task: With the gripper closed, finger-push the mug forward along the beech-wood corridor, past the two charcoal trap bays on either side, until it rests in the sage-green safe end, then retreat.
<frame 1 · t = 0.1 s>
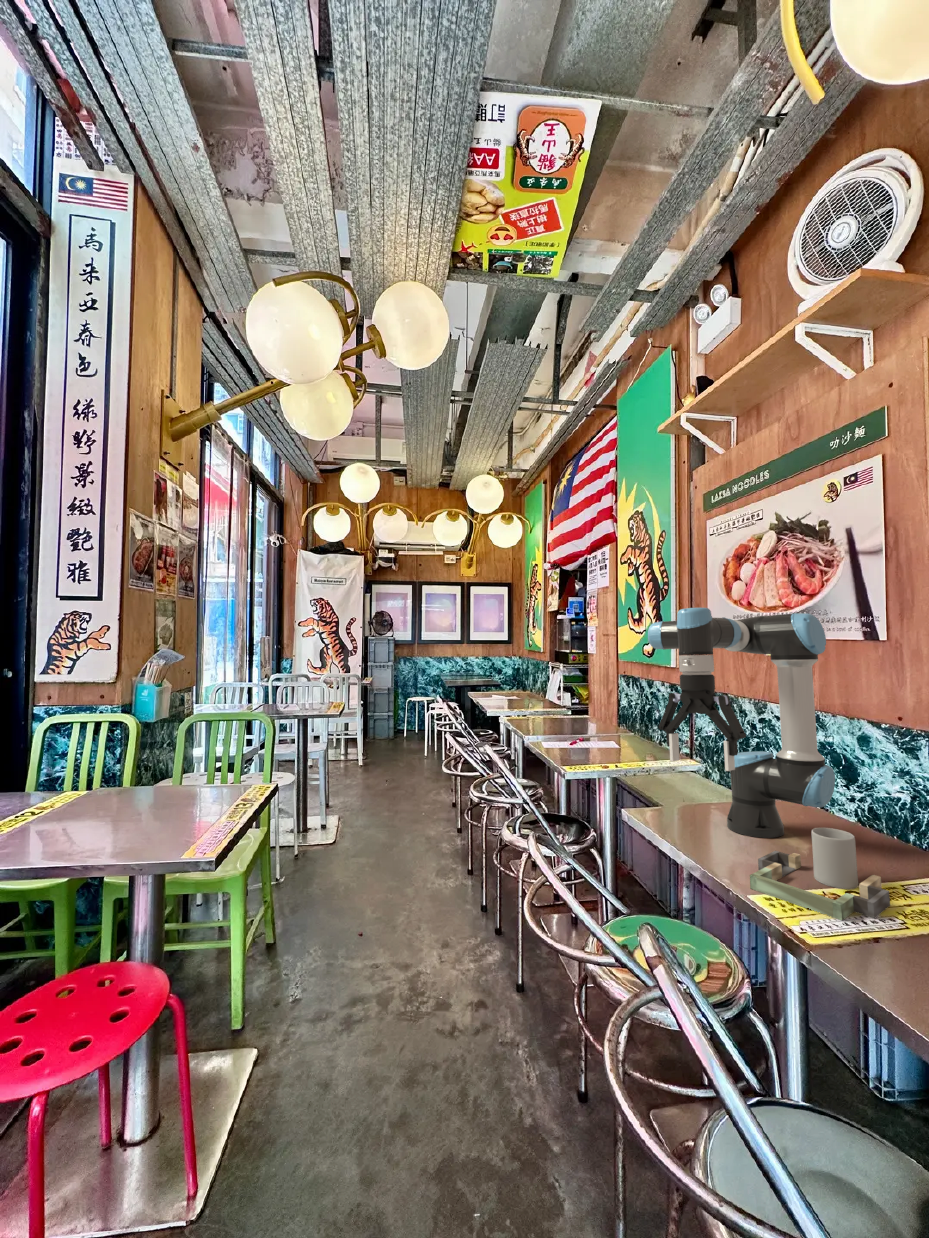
hand: (701, 765, 121), 28 cm above the table, fingers open, 13 cm apart
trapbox: (815, 889, 118), on the table
mug: (833, 879, 124), on the table
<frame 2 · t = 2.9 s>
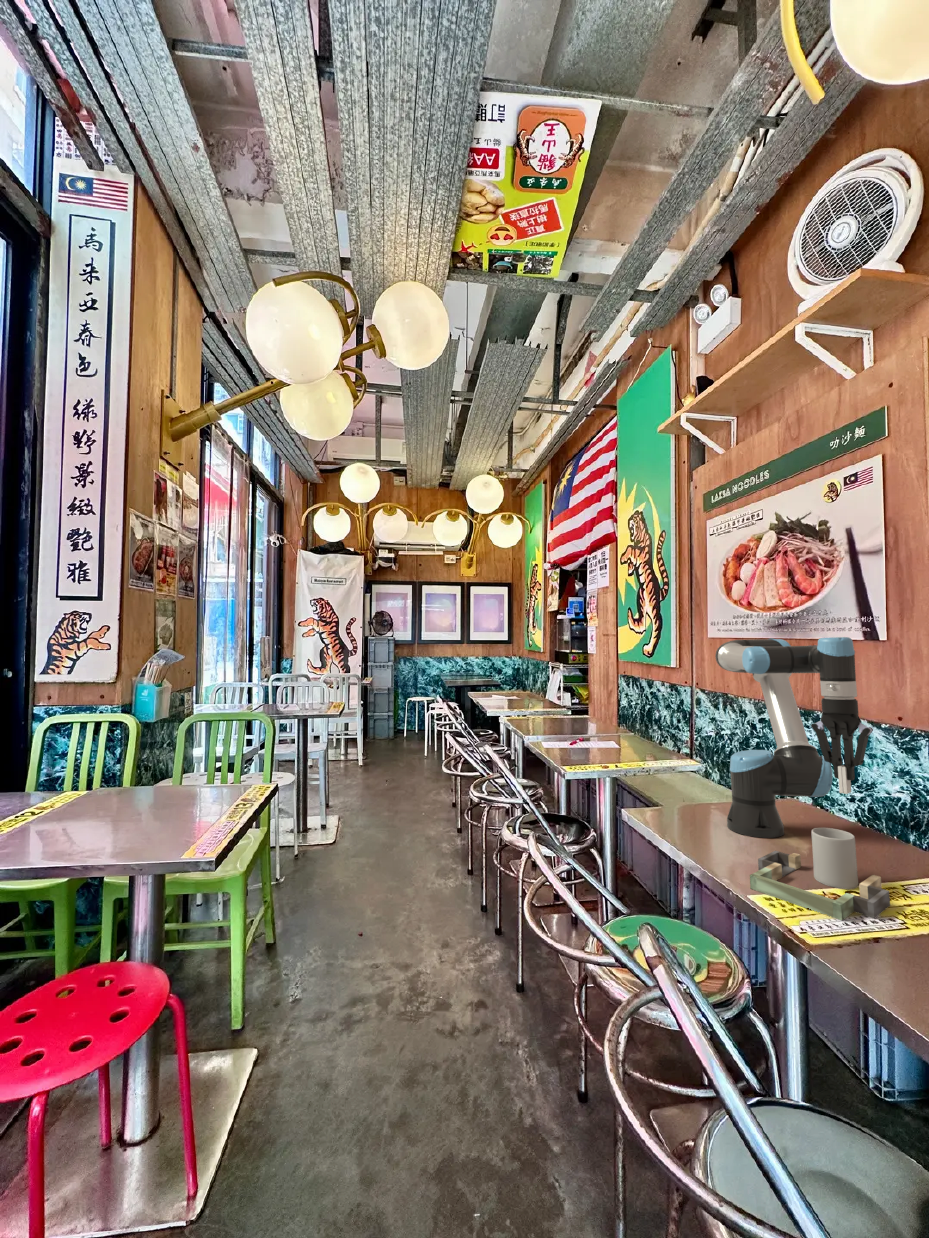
hand: (845, 792, 131), 18 cm above the table, fingers closed
nothing on the table moved.
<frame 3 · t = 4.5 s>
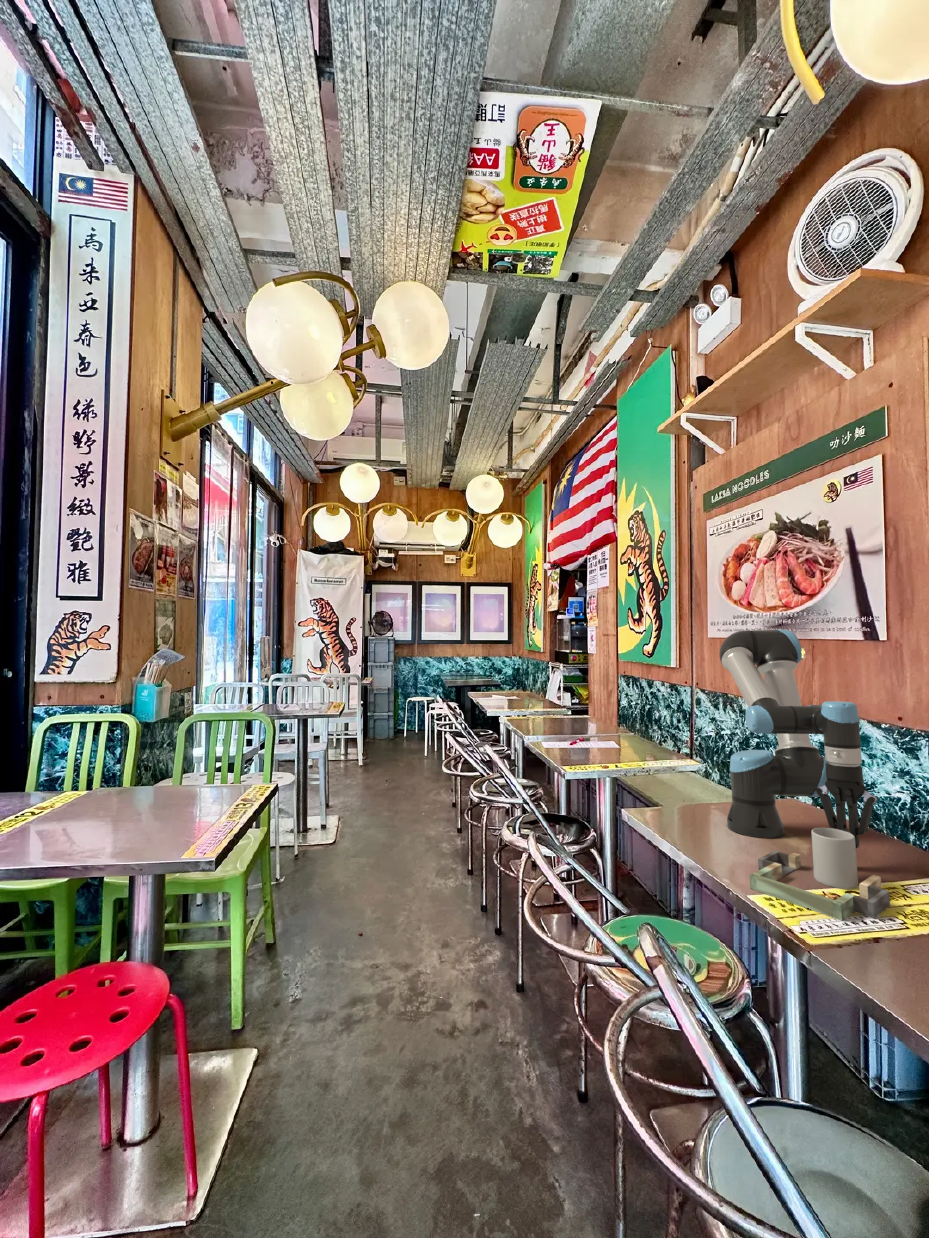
hand: (850, 859, 129), 2 cm above the table, fingers closed
nothing on the table moved.
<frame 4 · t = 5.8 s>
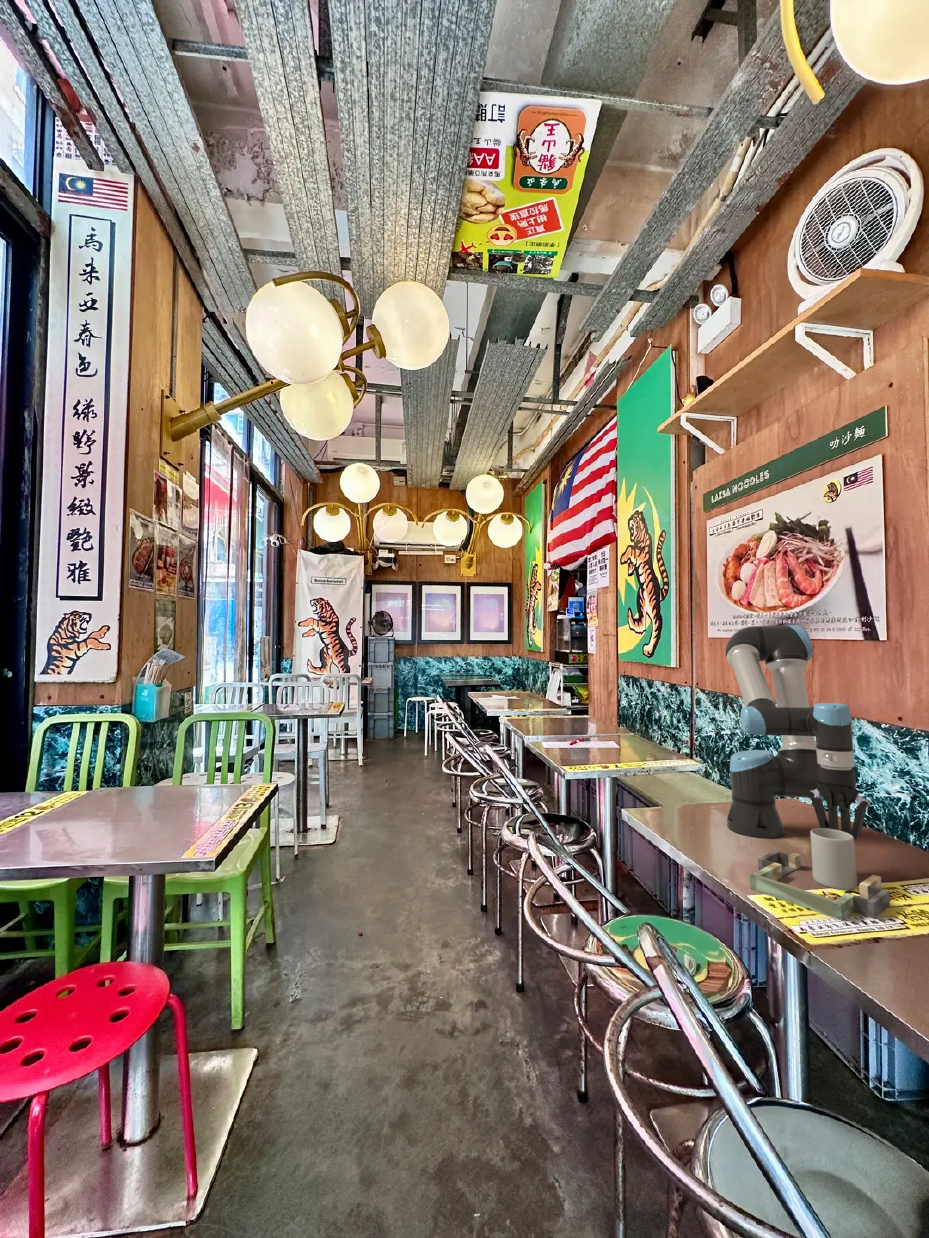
hand: (842, 865, 126), 2 cm above the table, fingers closed
mug: (832, 879, 123), on the table, touching gripper, hand
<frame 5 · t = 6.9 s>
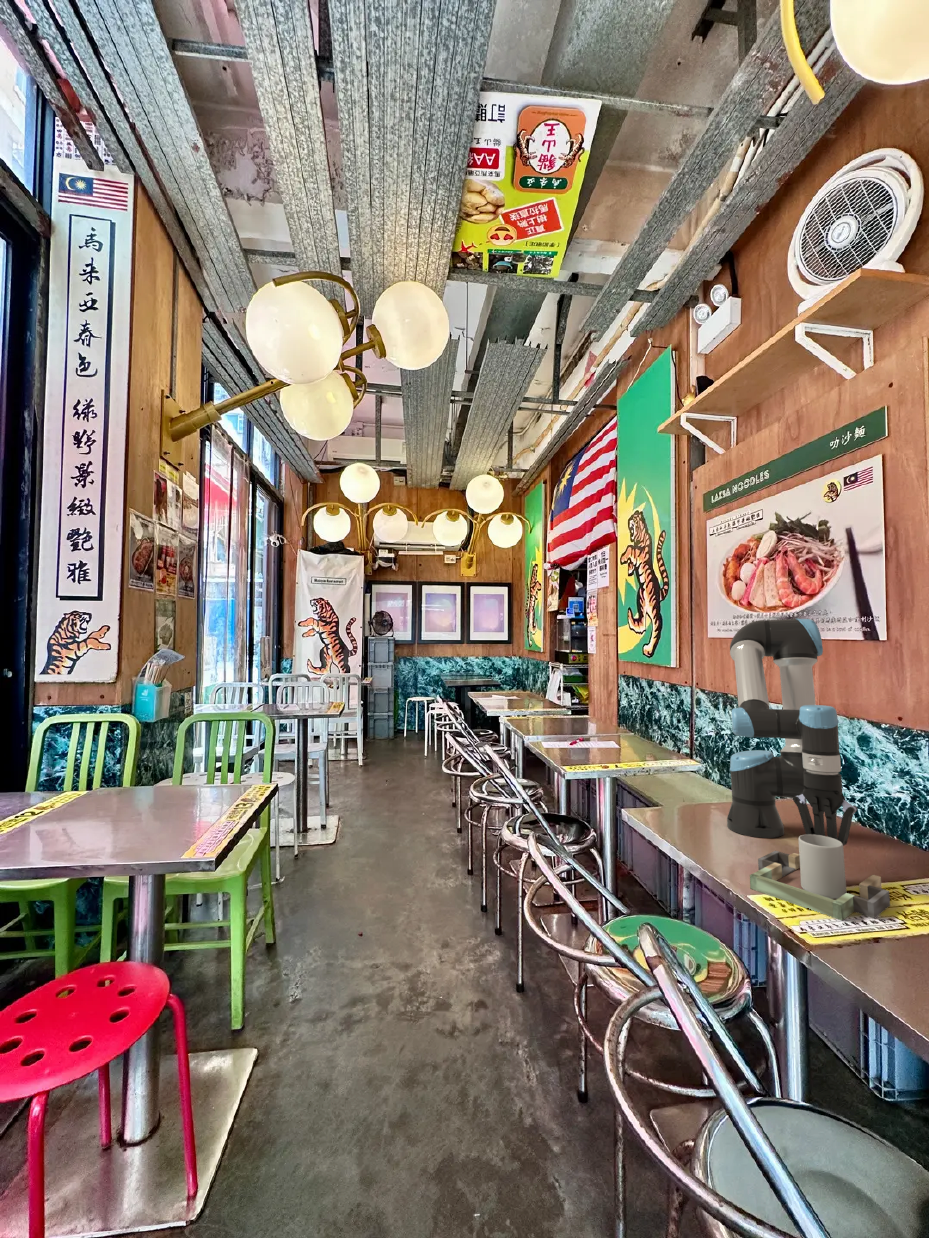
hand: (828, 873, 122), 2 cm above the table, fingers closed
mug: (818, 887, 119), on the table, touching gripper
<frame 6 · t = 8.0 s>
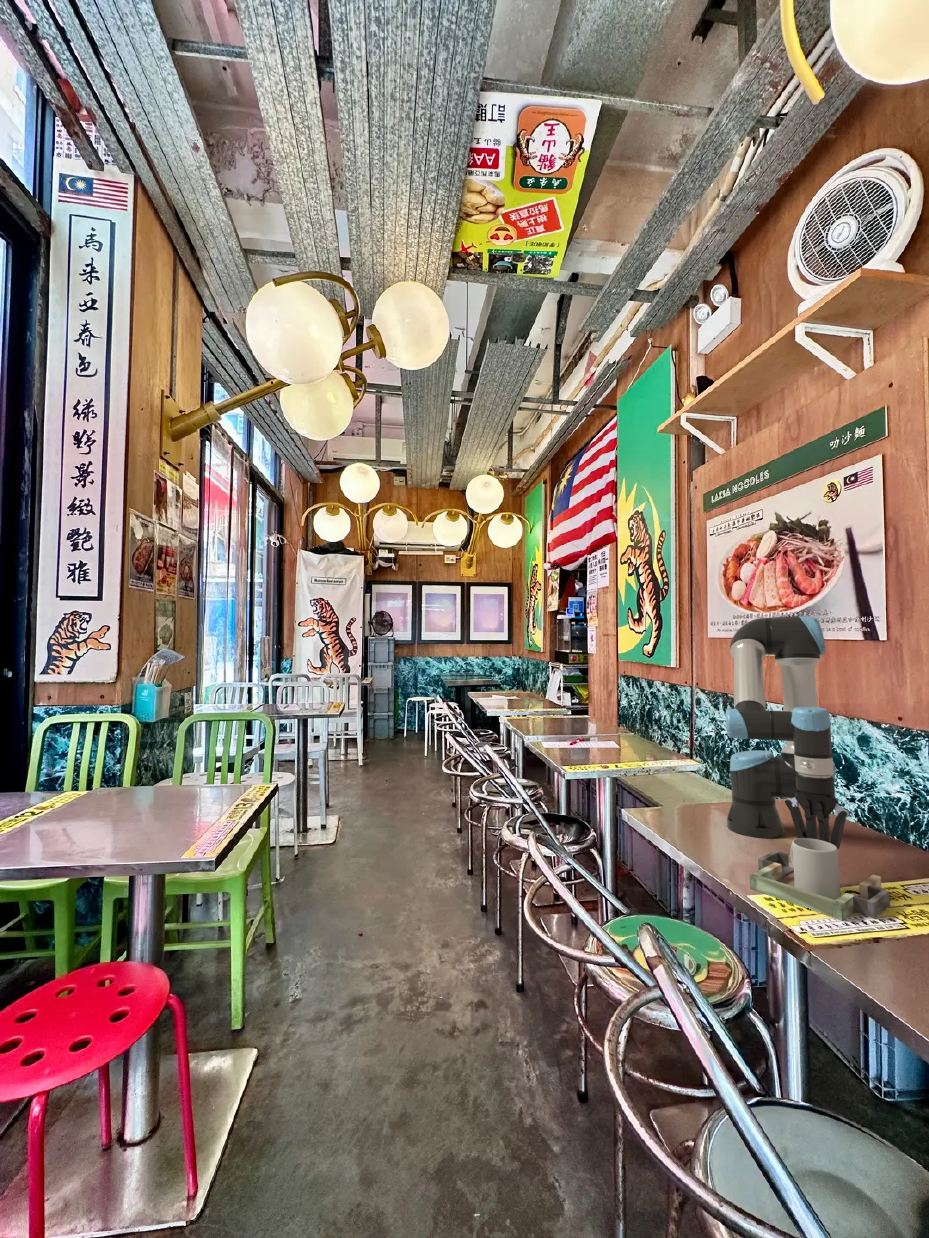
hand: (821, 878, 120), 2 cm above the table, fingers closed
mug: (812, 892, 117), on the table, touching gripper
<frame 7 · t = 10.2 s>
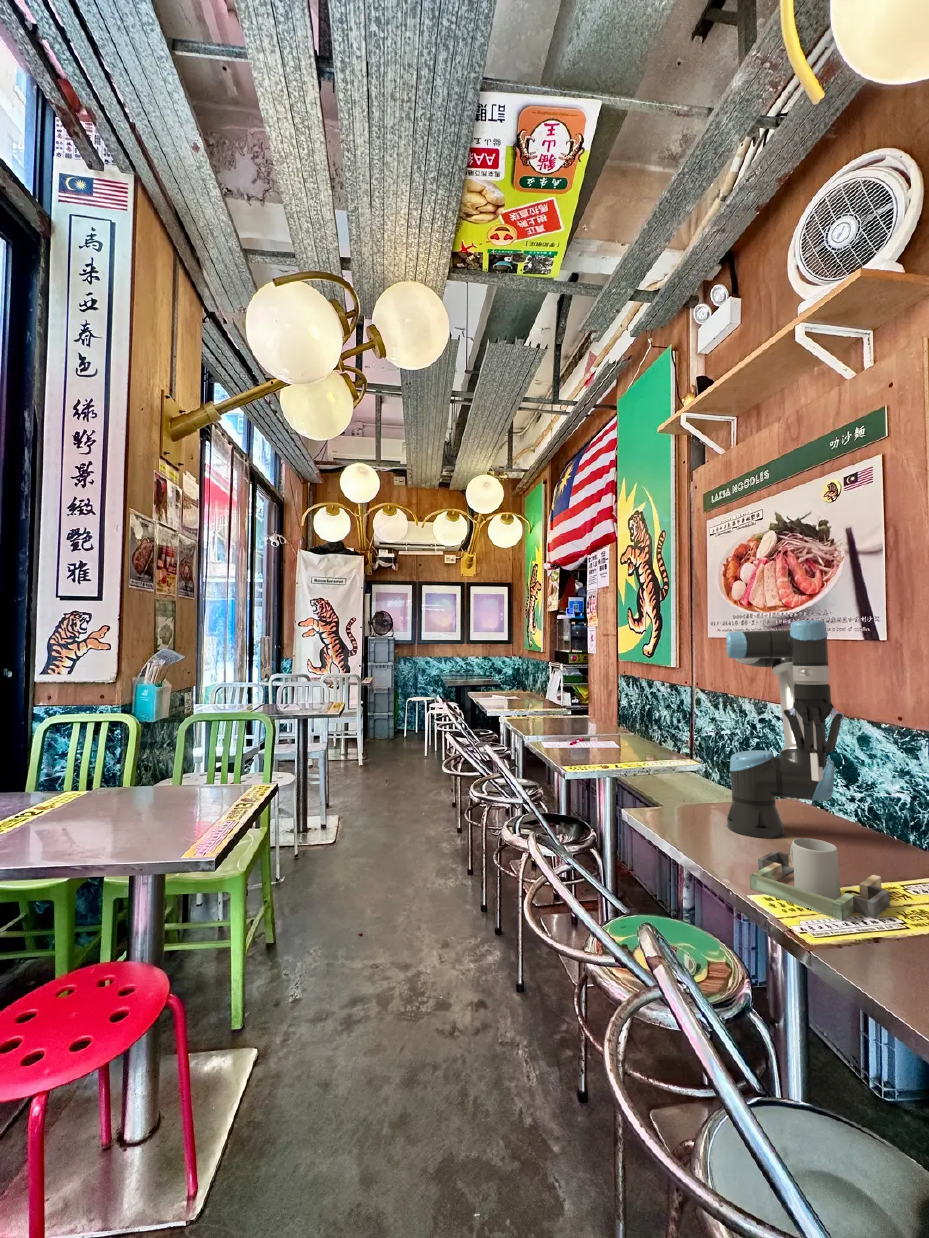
hand: (817, 779, 127), 23 cm above the table, fingers closed
mug: (811, 892, 117), on the table
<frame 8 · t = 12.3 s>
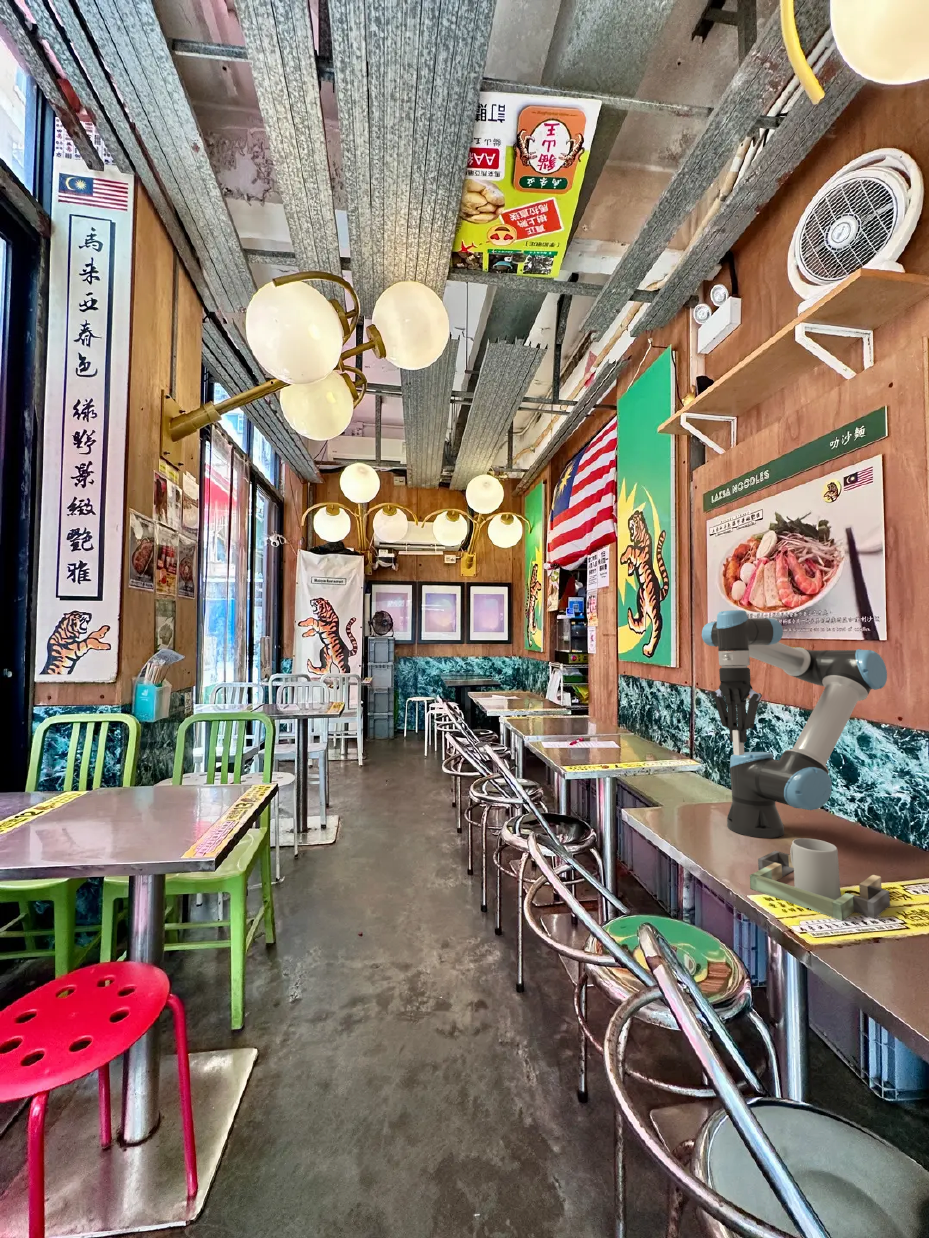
hand: (739, 754, 141), 26 cm above the table, fingers closed
nothing on the table moved.
at the end: mug inside the target area (2.9 cm from its centre), on the table; mug tilted 0°; mug moved 11.8 cm from its start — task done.
